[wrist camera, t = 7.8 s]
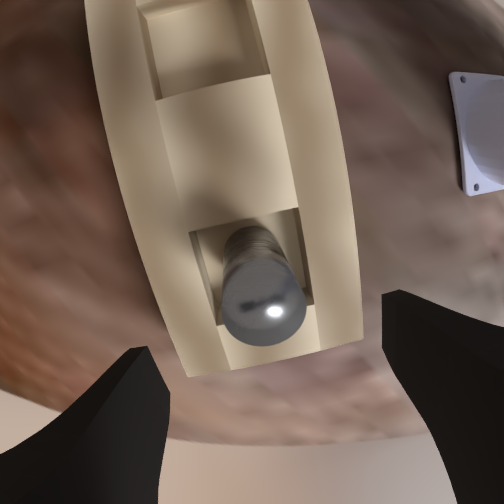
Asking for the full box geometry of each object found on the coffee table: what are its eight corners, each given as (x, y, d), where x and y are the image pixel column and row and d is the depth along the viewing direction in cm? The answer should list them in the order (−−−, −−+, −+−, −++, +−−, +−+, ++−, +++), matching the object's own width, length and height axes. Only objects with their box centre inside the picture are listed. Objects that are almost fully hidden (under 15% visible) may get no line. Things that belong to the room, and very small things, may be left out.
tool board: (276, -41, 12) (283, -67, 9) (347, 312, 20) (363, 338, 17) (102, 0, 12) (82, -19, 10) (192, 346, 20) (187, 377, 17)
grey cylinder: (275, 220, 16) (300, 264, 11) (285, 273, 17) (311, 336, 12) (217, 232, 16) (212, 283, 11) (230, 285, 17) (232, 353, 12)
